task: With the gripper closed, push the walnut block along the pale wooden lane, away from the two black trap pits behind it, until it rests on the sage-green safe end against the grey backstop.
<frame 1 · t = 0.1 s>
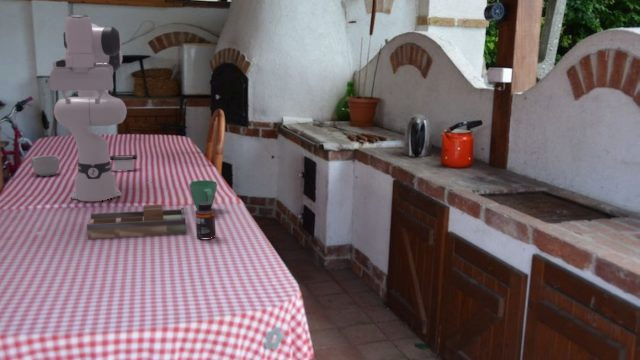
hand: (83, 104, 216), 39 cm above the table, tool pointing down, fingers open, 8 cm apart
mug: (205, 212, 230), on the table
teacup: (44, 175, 284), on the table
wooden compartment tray: (138, 229, 207), on the table
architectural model: (124, 171, 295), on the table
block: (153, 220, 208), point 3 cm above the table, touching wooden compartment tray
supplement bottle: (206, 237, 201), on the table
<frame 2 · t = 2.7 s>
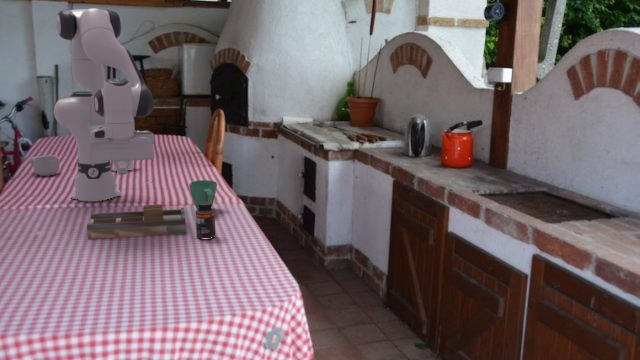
hand: (122, 174, 202), 19 cm above the table, tool pointing down, fingers closed
nothing on the table moved.
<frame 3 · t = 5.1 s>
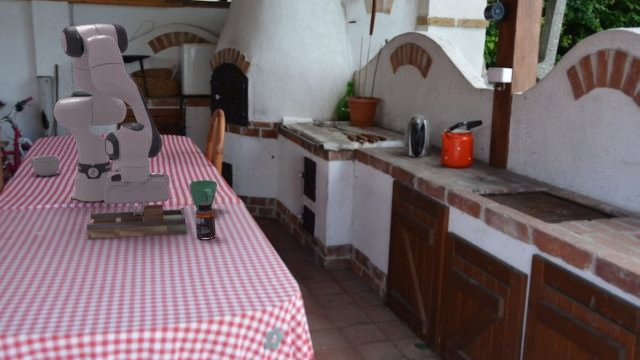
hand: (138, 215, 206), 5 cm above the table, tool pointing down, fingers closed
block: (153, 220, 208), point 3 cm above the table, touching wooden compartment tray, gripper
everything else where it was.
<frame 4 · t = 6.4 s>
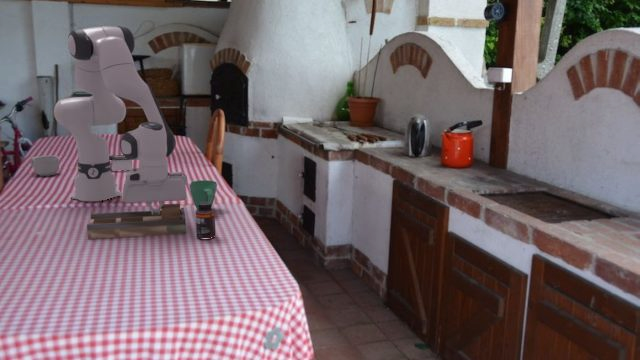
hand: (155, 214, 207), 5 cm above the table, tool pointing down, fingers closed
block: (171, 219, 209), point 3 cm above the table, touching wooden compartment tray, gripper
everything else where it was.
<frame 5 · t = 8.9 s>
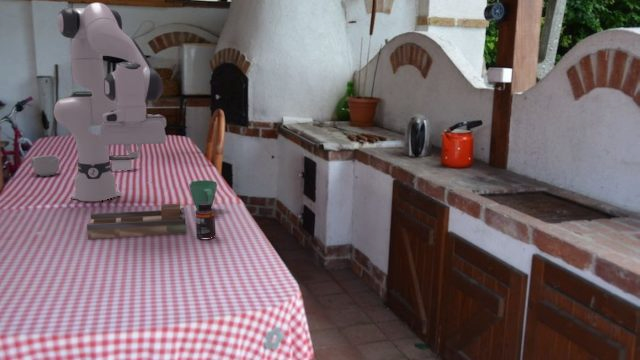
hand: (134, 157, 202), 24 cm above the table, tool pointing down, fingers closed
block: (171, 219, 209), point 3 cm above the table, touching wooden compartment tray
everything else where it was.
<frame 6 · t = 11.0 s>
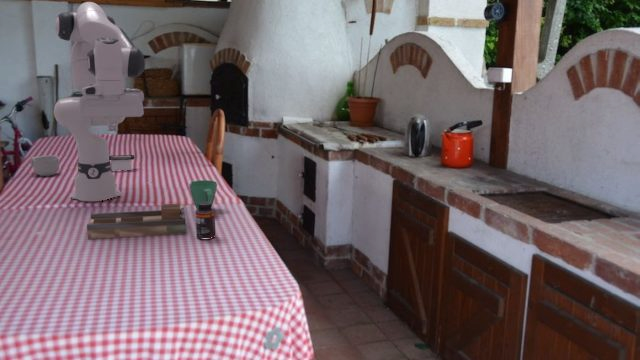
hand: (112, 130, 210), 31 cm above the table, tool pointing down, fingers closed
at the end: block 1.2 cm from the target spot on the wooden compartment tray, point 3.0 cm above the wooden compartment tray's base; block tilted 0°; block moved 5.6 cm from its start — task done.
